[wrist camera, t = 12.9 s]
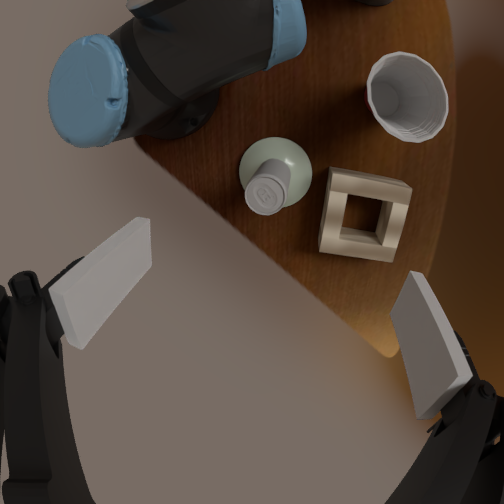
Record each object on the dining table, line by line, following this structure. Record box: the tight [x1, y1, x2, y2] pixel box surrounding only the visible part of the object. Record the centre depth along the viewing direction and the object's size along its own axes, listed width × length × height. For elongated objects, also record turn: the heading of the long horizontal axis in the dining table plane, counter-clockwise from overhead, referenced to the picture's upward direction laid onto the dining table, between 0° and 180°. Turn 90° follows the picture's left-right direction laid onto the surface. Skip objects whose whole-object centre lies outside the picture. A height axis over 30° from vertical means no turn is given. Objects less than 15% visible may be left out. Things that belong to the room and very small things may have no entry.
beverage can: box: [245, 158, 291, 215], centre depth 36 cm, size 5×5×12 cm
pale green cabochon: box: [239, 137, 312, 207], centre depth 41 cm, size 11×11×1 cm
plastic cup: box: [364, 52, 448, 143], centre depth 28 cm, size 11×11×12 cm
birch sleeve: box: [318, 167, 412, 262], centre depth 40 cm, size 12×12×5 cm
